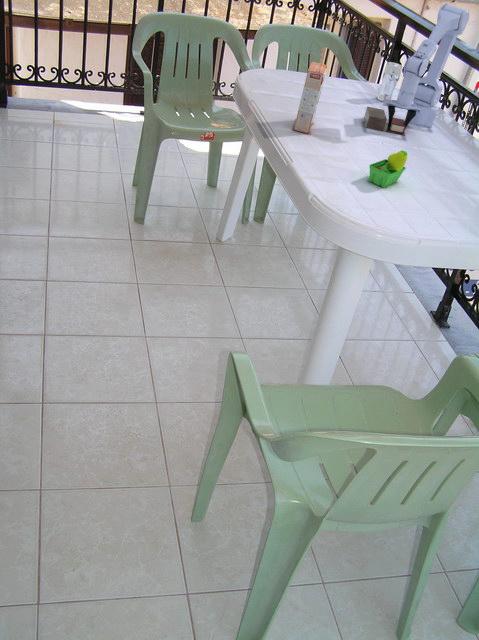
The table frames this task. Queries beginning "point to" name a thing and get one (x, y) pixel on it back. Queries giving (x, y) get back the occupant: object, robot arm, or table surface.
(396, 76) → the beer glass
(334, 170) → the table surface
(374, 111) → the book rack
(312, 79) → the cracker box
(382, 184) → the fruit basket
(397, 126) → the red hardcover book
